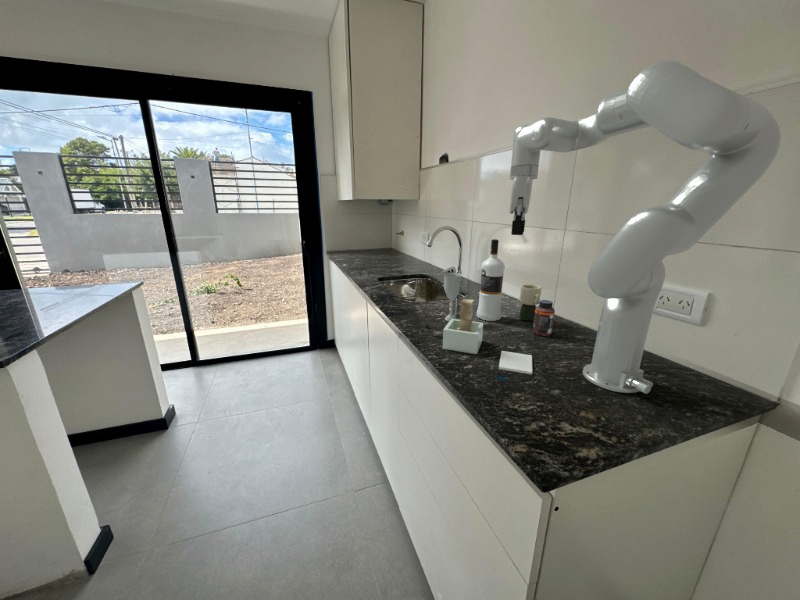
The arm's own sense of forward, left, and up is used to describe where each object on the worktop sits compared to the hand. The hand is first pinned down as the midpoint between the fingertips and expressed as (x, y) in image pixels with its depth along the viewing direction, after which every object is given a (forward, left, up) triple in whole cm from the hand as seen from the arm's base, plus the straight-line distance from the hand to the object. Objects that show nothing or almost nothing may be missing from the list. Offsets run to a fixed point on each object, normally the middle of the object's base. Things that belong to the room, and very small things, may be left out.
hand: (517, 233), depth 96 cm
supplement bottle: (-2, -12, -34) cm, 36 cm away
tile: (-16, +8, -33) cm, 37 cm away
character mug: (+11, -16, -34) cm, 39 cm away
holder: (-5, +19, -33) cm, 39 cm away
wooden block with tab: (-5, +19, -32) cm, 38 cm away
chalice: (+17, +13, -34) cm, 40 cm away
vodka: (+17, -3, -34) cm, 38 cm away
